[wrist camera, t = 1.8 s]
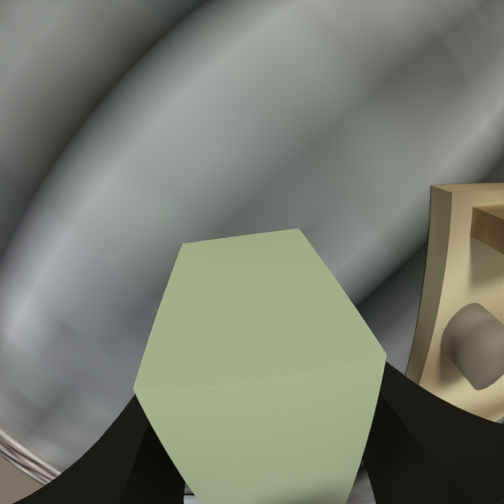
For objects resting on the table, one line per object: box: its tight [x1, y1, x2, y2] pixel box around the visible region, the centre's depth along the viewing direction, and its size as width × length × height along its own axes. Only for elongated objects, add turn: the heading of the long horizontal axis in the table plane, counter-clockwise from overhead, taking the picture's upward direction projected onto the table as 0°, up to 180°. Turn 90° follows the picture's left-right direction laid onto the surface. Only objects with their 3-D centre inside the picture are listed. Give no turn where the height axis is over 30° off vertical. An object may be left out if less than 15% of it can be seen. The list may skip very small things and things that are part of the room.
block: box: [133, 229, 387, 504], centre depth 8 cm, size 8×4×6 cm, turn 6°
